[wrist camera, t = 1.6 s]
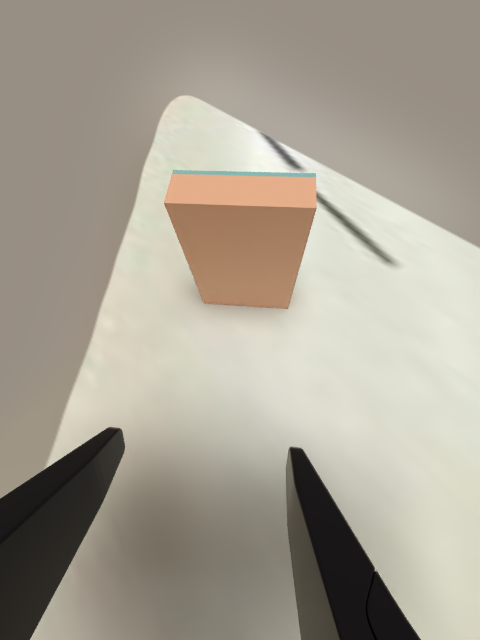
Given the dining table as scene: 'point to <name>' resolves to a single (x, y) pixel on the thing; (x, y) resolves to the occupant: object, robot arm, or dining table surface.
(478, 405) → the dining table surface
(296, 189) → the glazed tile
